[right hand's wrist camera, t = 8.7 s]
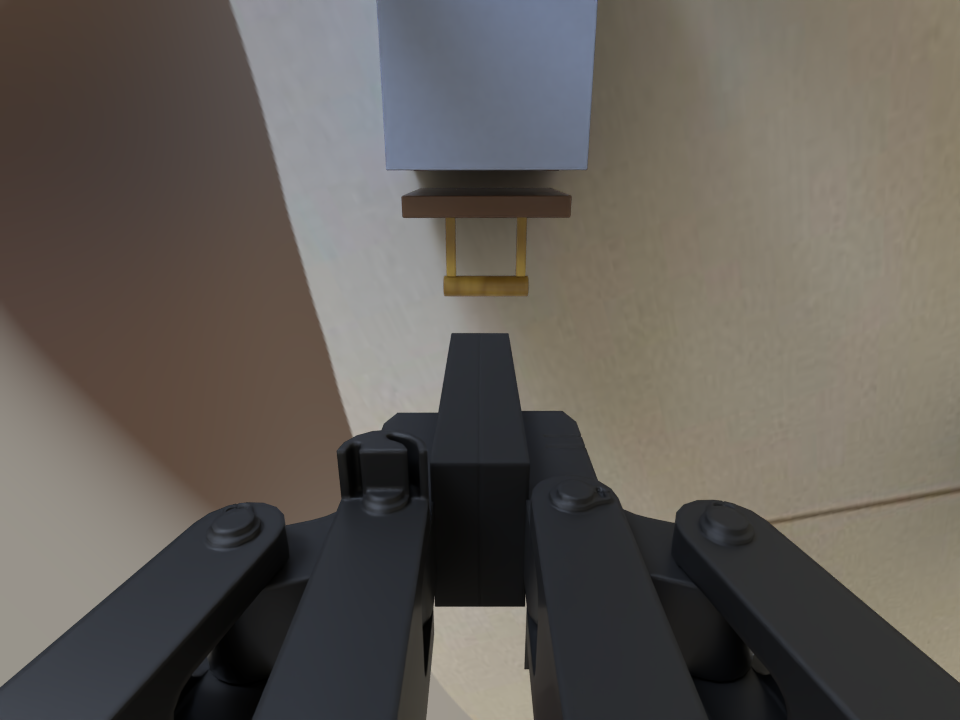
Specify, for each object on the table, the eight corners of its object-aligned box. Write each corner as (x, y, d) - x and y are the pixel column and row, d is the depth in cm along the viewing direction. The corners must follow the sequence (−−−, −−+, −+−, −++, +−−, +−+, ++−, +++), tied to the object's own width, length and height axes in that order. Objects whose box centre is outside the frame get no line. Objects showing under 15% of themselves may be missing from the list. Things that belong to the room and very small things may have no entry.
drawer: (547, 278, 41) (565, 310, 32) (423, 278, 42) (406, 310, 32) (563, -108, 33) (593, -209, 24) (408, -107, 33) (381, -207, 24)
